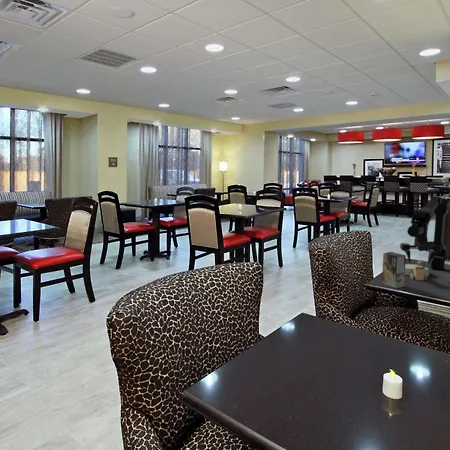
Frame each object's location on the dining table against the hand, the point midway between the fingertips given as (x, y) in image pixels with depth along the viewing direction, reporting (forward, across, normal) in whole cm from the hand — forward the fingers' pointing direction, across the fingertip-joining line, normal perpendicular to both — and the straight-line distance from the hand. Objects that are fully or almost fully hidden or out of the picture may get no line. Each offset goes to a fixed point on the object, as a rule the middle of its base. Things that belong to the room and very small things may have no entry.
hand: (419, 263), depth 205 cm
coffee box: (+8, -15, -14) cm, 22 cm away
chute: (+8, 0, 0) cm, 8 cm away
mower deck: (+8, 0, +5) cm, 10 cm away
